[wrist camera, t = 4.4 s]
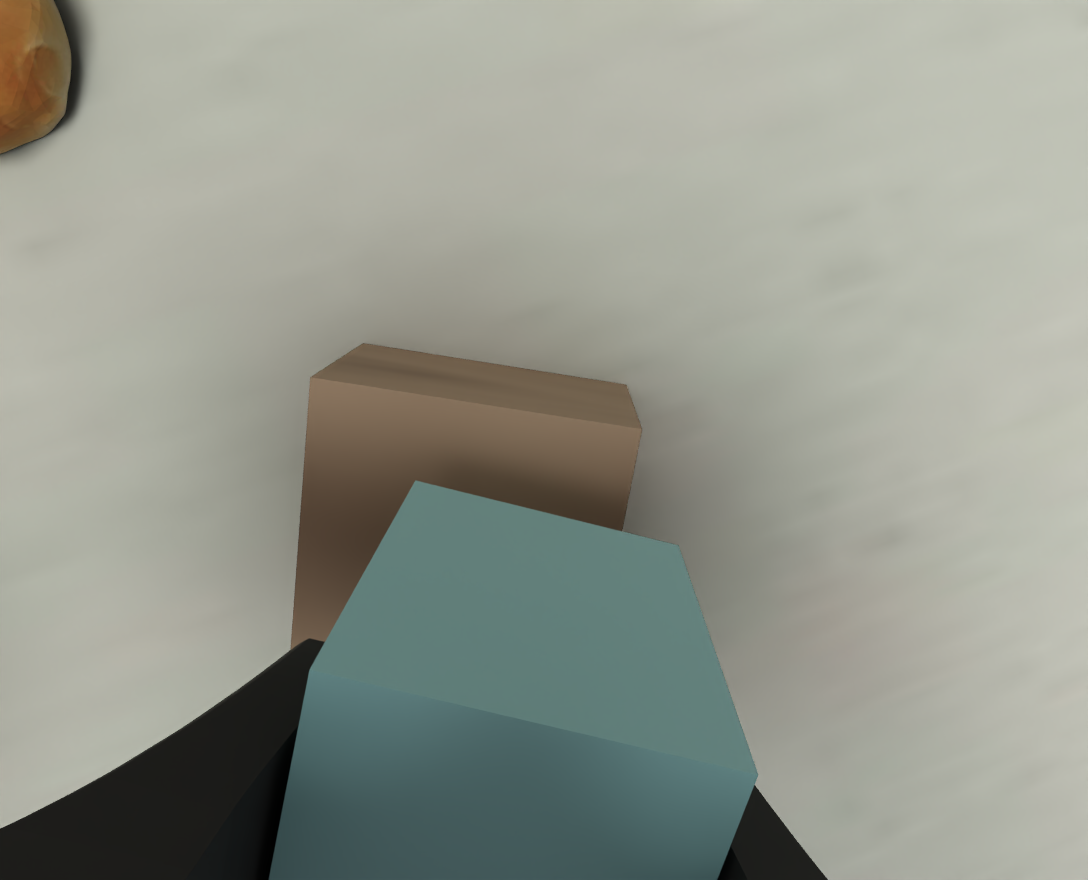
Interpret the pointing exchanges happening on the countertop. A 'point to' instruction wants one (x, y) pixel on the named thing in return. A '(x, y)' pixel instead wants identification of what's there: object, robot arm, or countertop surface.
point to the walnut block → (446, 455)
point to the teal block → (514, 710)
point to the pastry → (31, 70)
